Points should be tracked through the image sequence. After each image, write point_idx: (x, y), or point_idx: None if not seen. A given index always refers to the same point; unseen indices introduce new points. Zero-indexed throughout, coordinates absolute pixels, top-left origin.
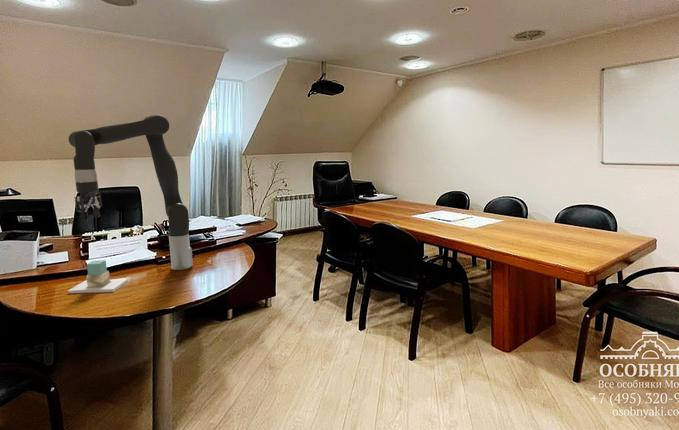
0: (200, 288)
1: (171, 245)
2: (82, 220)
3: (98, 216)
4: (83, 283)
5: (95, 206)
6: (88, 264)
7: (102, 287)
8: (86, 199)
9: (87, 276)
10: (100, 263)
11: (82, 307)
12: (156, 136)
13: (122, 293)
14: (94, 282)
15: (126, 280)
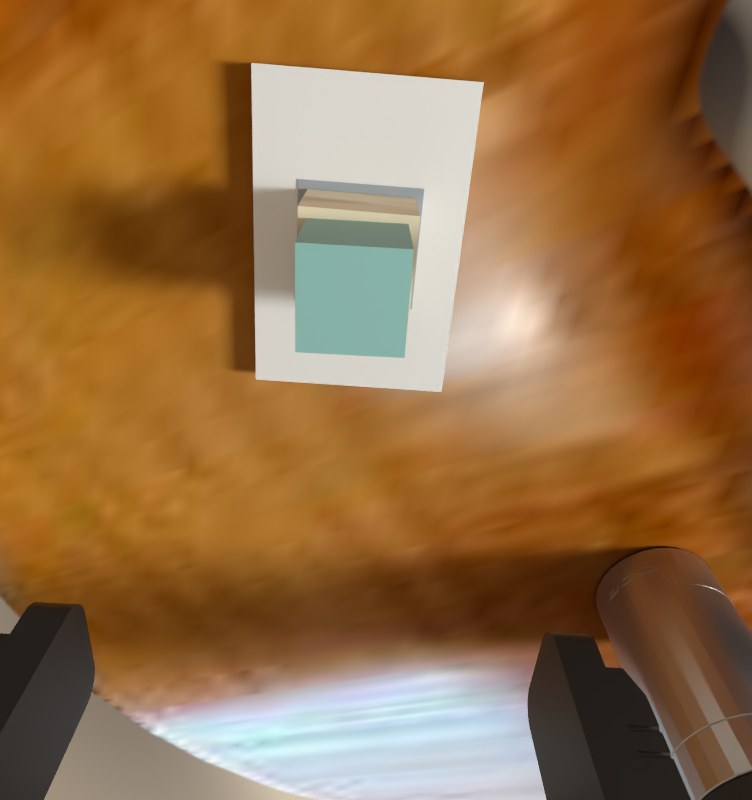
0: (275, 716)
1: (683, 707)
2: (33, 618)
3: (532, 715)
4: (403, 107)
5: None
6: (295, 256)
7: (292, 297)
8: None
9: (298, 214)
10: (311, 352)
11: (24, 292)
12: None
13: (236, 422)
14: None
15: (425, 388)
